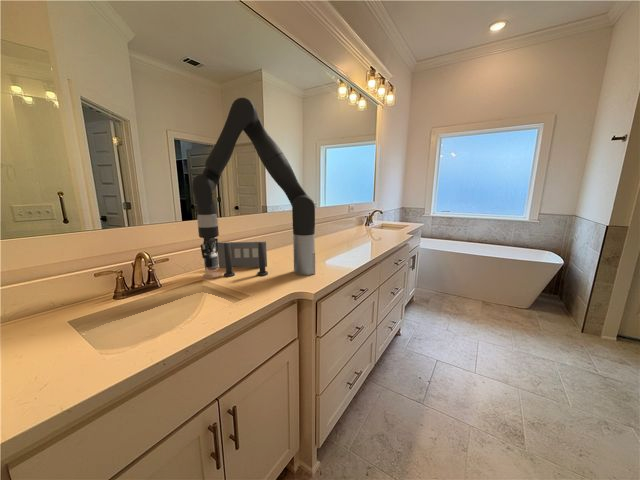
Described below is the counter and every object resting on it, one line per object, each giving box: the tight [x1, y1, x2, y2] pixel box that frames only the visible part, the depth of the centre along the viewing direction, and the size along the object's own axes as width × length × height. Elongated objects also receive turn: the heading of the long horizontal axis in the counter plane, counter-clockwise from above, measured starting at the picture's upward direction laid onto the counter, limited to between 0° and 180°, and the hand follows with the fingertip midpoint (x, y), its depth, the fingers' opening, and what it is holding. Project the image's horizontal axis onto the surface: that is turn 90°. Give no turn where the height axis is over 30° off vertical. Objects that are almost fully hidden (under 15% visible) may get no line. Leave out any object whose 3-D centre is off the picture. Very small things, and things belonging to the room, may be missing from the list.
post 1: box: [223, 243, 236, 278], centre depth 107 cm, size 4×4×14 cm
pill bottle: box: [203, 248, 219, 272], centre depth 107 cm, size 5×5×9 cm
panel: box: [217, 241, 268, 269], centre depth 118 cm, size 22×2×12 cm, turn 95°
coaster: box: [201, 271, 224, 280], centre depth 108 cm, size 8×8×1 cm
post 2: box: [257, 241, 269, 277], centre depth 108 cm, size 4×4×14 cm
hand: (211, 265), depth 107 cm, fingers closed on pill bottle, 5 cm apart
